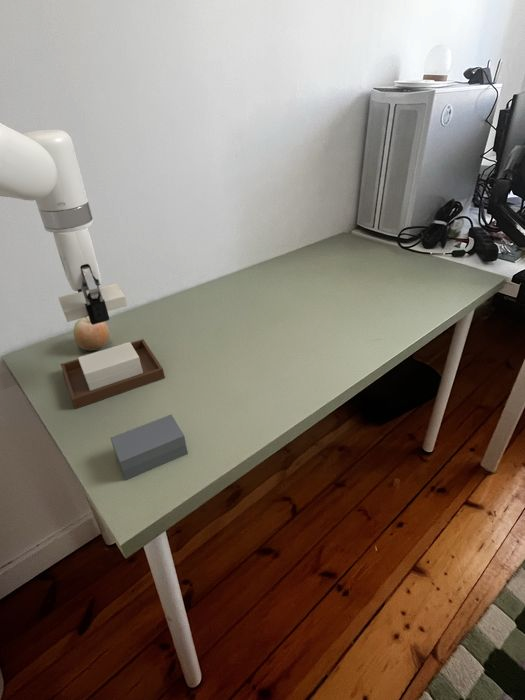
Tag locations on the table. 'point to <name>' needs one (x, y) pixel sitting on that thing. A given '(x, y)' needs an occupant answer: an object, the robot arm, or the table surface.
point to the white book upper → (109, 361)
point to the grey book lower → (154, 462)
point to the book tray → (85, 396)
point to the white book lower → (114, 378)
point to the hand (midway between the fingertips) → (95, 312)
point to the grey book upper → (147, 442)
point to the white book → (76, 302)
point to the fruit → (90, 334)
